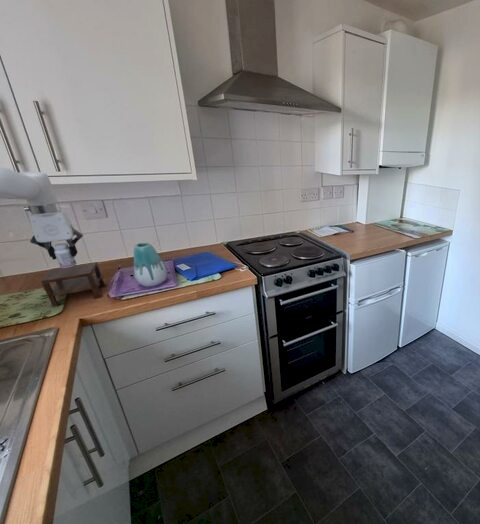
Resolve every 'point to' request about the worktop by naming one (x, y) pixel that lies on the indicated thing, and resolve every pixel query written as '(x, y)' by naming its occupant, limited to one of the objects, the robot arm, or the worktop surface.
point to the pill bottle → (64, 255)
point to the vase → (148, 266)
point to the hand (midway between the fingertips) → (65, 256)
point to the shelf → (72, 280)
